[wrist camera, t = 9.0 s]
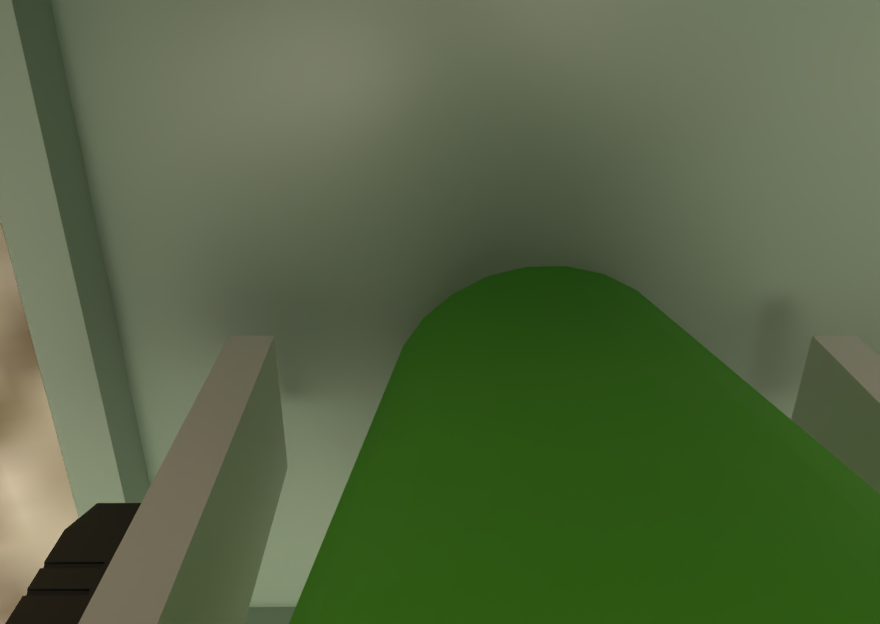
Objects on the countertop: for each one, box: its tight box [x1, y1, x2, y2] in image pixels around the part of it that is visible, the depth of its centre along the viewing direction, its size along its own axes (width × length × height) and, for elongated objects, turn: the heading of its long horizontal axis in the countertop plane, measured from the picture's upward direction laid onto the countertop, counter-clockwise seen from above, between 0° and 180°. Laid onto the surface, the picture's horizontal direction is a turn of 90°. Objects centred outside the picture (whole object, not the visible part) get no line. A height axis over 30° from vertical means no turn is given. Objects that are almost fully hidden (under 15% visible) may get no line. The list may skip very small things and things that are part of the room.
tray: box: [0, 0, 880, 624], centre depth 15 cm, size 16×18×2 cm
